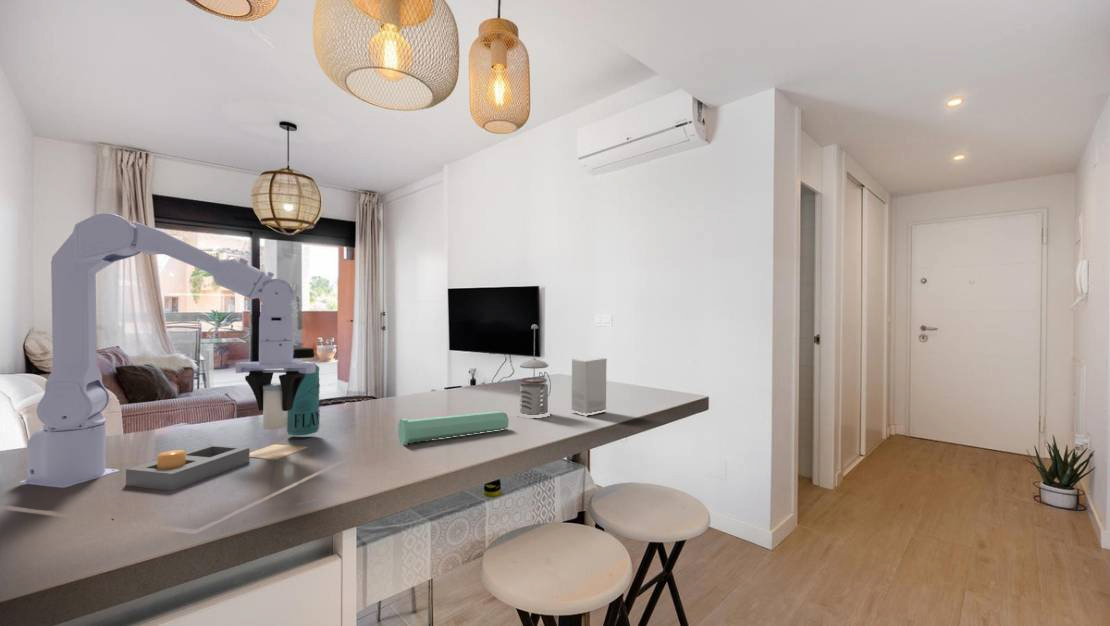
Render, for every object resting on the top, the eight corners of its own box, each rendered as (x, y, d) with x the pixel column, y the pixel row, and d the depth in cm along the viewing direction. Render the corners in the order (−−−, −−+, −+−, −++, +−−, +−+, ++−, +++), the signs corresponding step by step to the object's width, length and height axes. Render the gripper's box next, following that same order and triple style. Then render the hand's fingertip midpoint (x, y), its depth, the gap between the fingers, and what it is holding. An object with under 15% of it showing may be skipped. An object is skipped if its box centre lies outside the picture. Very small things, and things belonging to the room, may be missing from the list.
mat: (240, 459, 88) (240, 455, 88) (274, 447, 96) (274, 444, 96) (276, 462, 86) (276, 459, 86) (307, 449, 94) (307, 446, 94)
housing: (125, 488, 73) (125, 469, 73) (208, 460, 87) (208, 444, 87) (172, 493, 71) (172, 473, 71) (249, 464, 85) (249, 447, 85)
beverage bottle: (289, 444, 98) (290, 349, 98) (283, 437, 103) (284, 347, 103) (323, 439, 102) (323, 348, 102) (315, 433, 107) (316, 346, 107)
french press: (538, 409, 135) (539, 323, 135) (562, 417, 126) (563, 324, 126) (509, 413, 130) (510, 324, 129) (532, 421, 120) (533, 325, 120)
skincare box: (591, 409, 136) (592, 356, 136) (607, 413, 131) (608, 358, 131) (570, 413, 131) (570, 358, 131) (586, 417, 126) (586, 360, 125)
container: (504, 403, 114) (400, 412, 100) (514, 417, 109) (406, 428, 96) (499, 423, 116) (396, 435, 102) (509, 438, 111) (403, 452, 98)
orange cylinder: (150, 477, 74) (151, 455, 74) (173, 470, 78) (173, 449, 78) (169, 479, 74) (169, 457, 74) (191, 471, 77) (191, 450, 77)
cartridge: (257, 429, 89) (257, 386, 89) (272, 423, 93) (272, 382, 93) (277, 429, 89) (278, 386, 89) (292, 424, 93) (292, 383, 93)
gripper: (224, 341, 87) (224, 413, 87) (302, 342, 87) (301, 414, 87) (249, 339, 94) (248, 406, 94) (321, 339, 94) (320, 406, 94)
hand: (275, 409), depth 91 cm, fingers closed on cartridge, 4 cm apart
